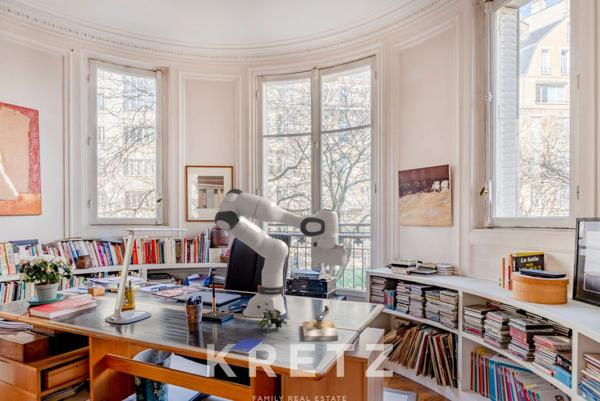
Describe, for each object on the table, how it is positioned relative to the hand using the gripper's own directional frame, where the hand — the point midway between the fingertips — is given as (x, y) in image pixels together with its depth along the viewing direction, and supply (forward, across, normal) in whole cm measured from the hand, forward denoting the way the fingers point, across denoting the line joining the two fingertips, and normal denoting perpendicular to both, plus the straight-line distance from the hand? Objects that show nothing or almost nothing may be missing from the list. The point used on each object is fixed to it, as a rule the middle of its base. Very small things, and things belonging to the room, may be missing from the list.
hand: (328, 273), depth 176 cm
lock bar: (+18, -2, +6) cm, 19 cm away
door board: (+24, -4, +10) cm, 27 cm away
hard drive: (+25, +3, +43) cm, 50 cm away
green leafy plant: (+25, +12, +24) cm, 37 cm away
